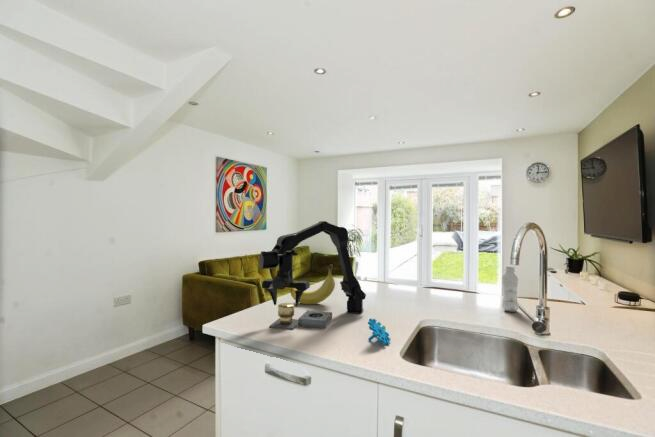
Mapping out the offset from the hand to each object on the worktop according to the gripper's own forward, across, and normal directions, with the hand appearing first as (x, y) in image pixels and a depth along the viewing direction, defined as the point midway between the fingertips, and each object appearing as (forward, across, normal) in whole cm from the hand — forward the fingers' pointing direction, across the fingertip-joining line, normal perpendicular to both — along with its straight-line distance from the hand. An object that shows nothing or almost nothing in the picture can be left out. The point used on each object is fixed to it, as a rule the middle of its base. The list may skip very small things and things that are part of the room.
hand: (285, 305), depth 125 cm
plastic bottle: (+8, +92, +42) cm, 101 cm away
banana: (+8, +1, +31) cm, 32 cm away
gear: (+8, +38, -8) cm, 40 cm away
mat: (+8, 0, 0) cm, 8 cm away
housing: (+8, +11, +5) cm, 14 cm away
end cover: (+7, 0, 0) cm, 7 cm away
